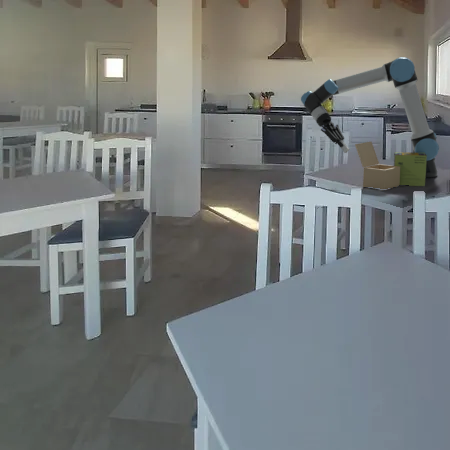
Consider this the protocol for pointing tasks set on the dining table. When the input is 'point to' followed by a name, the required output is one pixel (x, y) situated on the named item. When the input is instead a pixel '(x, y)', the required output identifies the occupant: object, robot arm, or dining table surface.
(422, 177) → the protein box
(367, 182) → the carton
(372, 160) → the lid
